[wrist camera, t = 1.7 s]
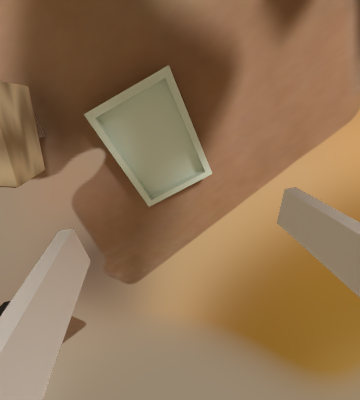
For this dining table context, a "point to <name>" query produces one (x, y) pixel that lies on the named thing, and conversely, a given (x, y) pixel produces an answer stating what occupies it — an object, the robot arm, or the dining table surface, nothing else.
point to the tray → (152, 137)
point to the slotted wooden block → (18, 137)
